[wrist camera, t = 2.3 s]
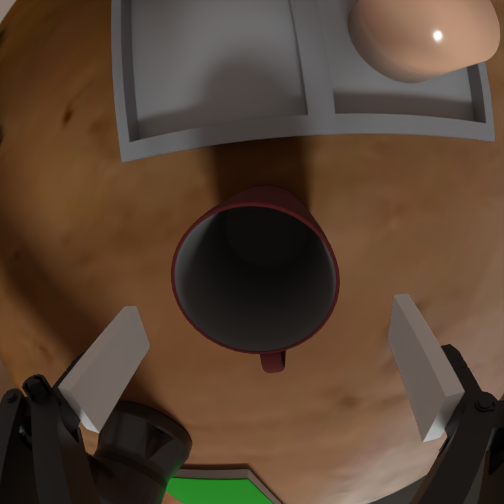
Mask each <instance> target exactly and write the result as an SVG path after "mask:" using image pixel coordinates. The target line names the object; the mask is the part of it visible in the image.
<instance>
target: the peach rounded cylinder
mask: <svg viewBox="0 0 504 504" xmlns="http://www.w3.org/2000/svg"><path fill="white" fill-rule="evenodd" d="M348 31H349V35H350V39H351V41H352V43H353V45H354V47H355V49H356V51H357V52H358V53H359V55H360V56H361V57H362V58H363V60H364V61H365V62H366V63H367V64H368V65H369V66H370V67H372V68H373V69H374V70H376V71H377V72H379V73H380V74H382V75H384V76H385V77H387V78H390V79H392V80H395V81H398V82H403V83H420V82H423V81H426V80H429V79H432V78H434V77H437V76H440V75H443V74H446V73H449V72H452V71H455V70H458V69H461V68H464V67H467V66H471V65H474V64H477V63H480V62H483V61H486V60H488V59H489V58H491V57H492V56H493V55H494V54H495V52H496V50H497V48H498V46H499V42H500V27H499V22H498V18H497V15H496V13H495V10H494V8H493V6H492V4H491V2H490V0H356V2H355V4H354V6H353V7H352V9H351V11H350V14H349V18H348Z"/></svg>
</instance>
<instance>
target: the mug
mask: <svg viewBox="0 0 504 504" xmlns="http://www.w3.org/2000/svg"><path fill="white" fill-rule="evenodd" d="M171 282H172V289H173V292H174V296H175V299H176V301H177V304H178V306H179V308H180V310H181V311H182V313H183V315H184V316H185V318H186V319H187V320H188V321H189V322H190V324H191V325H192V326H193V327H194V328H195V329H196V330H197V331H198V332H200V333H201V334H202V335H203V336H205V337H206V338H207V339H209V340H211V341H213V342H214V343H216V344H218V345H220V346H222V347H225V348H228V349H231V350H234V351H237V352H243V353H249V354H260V358H261V363H262V367H263V369H264V371H265V372H267V373H275V372H281V371H283V370H284V367H285V353H286V350H287V349H290V348H293V347H295V346H298V345H299V344H301V343H303V342H305V341H306V340H308V339H309V338H311V337H312V336H313V335H314V334H316V333H317V332H318V331H319V330H320V329H321V328H322V327H323V325H324V324H325V323H326V322H327V320H328V319H329V317H330V316H331V314H332V312H333V309H334V307H335V305H336V302H337V298H338V294H339V286H340V279H339V269H338V265H337V261H336V258H335V255H334V252H333V250H332V248H331V245H330V243H329V242H328V240H327V238H326V236H325V234H324V232H323V231H322V229H321V228H320V226H319V225H318V223H317V222H316V220H315V219H314V217H313V216H312V215H311V213H310V212H309V211H308V210H307V208H306V207H305V206H304V205H303V203H302V202H301V201H300V200H299V199H298V198H297V197H296V196H295V195H294V194H292V193H291V192H289V191H288V190H286V189H284V188H281V187H278V186H273V185H258V186H254V187H251V188H248V189H246V190H244V191H242V192H240V193H238V194H236V195H234V196H232V197H230V198H228V199H226V200H225V201H223V202H221V203H220V204H218V205H217V206H215V207H213V208H212V209H211V210H209V211H208V212H207V213H205V214H204V215H203V216H202V217H200V218H199V219H198V220H197V221H196V222H195V223H194V224H193V225H192V226H191V227H190V228H189V229H188V230H187V231H186V233H185V234H184V235H183V237H182V238H181V240H180V242H179V243H178V246H177V248H176V250H175V253H174V256H173V261H172V268H171Z"/></svg>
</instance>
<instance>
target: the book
mask: <svg viewBox="0 0 504 504" xmlns="http://www.w3.org/2000/svg"><path fill="white" fill-rule="evenodd" d="M166 491H167V492H168V493H169V494H171V495H172V496H174V497H175V498H176V499H178V500H179V501H181V502H182V503H184V504H281V503H280V502H279V501H278V500H277V499H276V498H275V497H274V496H273V495H272V493H271V492H270V491H269V490H268V489H267V488H266V487H265V486H264V485H263V484H262V483H261V482H260V481H259V480H258V479H257V478H256V477H255V475H254V474H253V473H252V472H251V471H250V470H249V469H239V470H188V469H179V470H178V471H177V472H176V473H175V475H174V476H173V477H172V478H171V479H170V480H169V482H168V485H167V488H166Z"/></svg>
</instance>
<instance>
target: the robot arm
mask: <svg viewBox="0 0 504 504" xmlns="http://www.w3.org/2000/svg"><path fill="white" fill-rule="evenodd" d="M387 341H388V343H389V346H390V348H391V351H392V353H393V356H394V359H395V361H396V364H397V366H398V369H399V372H400V375H401V377H402V380H403V383H404V386H405V389H406V392H407V394H408V397H409V400H410V403H411V406H412V409H413V413H414V416H415V419H416V422H417V425H418V428H419V432H420V435H421V439H422V442H426V441H430V440H434V439H437V438H440V437H441V435H442V433H443V432H444V430H445V431H446V434H447V436H448V437H447V439H446V440H445V442H444V443H443V445H442V446H441V448H440V449H439V451H440V452H439V454H438V456H437V458H436V460H435V462H434V464H433V465H432V467H431V469H430V471H429V473H428V474H427V476H426V478H425V480H424V481H423V483H422V484H421V486H420V488H419V489H418V491H417V493H416V494H415V496H414V497H413V499H412V500H411V502H410V503H409V504H463V502H464V500H465V498H466V496H467V494H468V492H469V490H470V488H471V486H472V483H473V481H474V479H475V476H476V474H477V472H478V469H479V467H480V464H481V461H482V459H483V456H484V453H485V451H486V457H485V464H484V471H483V478H482V484H481V489H480V494H479V499H478V504H504V401H498V400H497V399H496V398H495V397H494V396H493V395H492V394H490V393H488V392H482V390H481V389H480V387H479V385H478V383H477V381H476V380H475V378H474V376H473V374H472V373H471V371H470V369H469V367H467V364H466V362H465V361H464V360H463V357H462V356H461V354H460V352H459V351H458V350H457V349H456V348H454V347H453V346H452V345H450V344H448V345H443V346H440V345H439V343H438V341H437V340H436V338H435V336H434V334H433V333H432V331H431V329H430V328H429V326H428V324H427V323H426V321H425V320H424V318H423V316H422V315H421V313H420V312H419V310H418V308H417V307H416V305H415V304H414V302H413V301H412V299H411V297H410V296H409V294H399V295H394V298H393V306H392V314H391V321H390V327H389V333H388V339H387ZM149 348H150V344H149V341H148V338H147V336H146V333H145V330H144V327H143V324H142V321H141V318H140V315H139V312H138V309H137V306H124V308H123V309H122V310H121V311H120V312H119V313H118V315H117V316H116V317H115V318H114V319H113V320H112V321H111V323H110V324H109V325H108V326H107V327H106V328H105V330H104V331H103V332H102V333H101V334H100V336H99V337H98V338H97V339H96V340H95V342H94V343H93V344H92V345H91V346H90V348H89V349H88V350H87V351H86V352H83V353H82V354H81V355H79V356H78V357H76V359H75V360H74V361H73V362H72V363H71V366H69V367H68V368H67V371H65V372H64V373H63V374H62V376H61V377H60V378H59V379H58V381H57V382H56V383H55V384H54V386H53V387H52V388H51V386H50V385H49V383H48V382H47V380H46V378H45V377H44V376H43V375H40V374H37V375H33V376H31V377H29V378H28V379H27V380H26V381H25V382H24V383H23V386H22V388H23V390H24V391H25V393H26V394H27V396H28V397H25V396H24V395H23V394H22V392H21V391H20V390H19V389H11V390H9V391H7V392H6V394H5V395H4V396H3V398H2V400H1V403H0V504H161V503H162V500H163V497H164V494H165V491H166V488H167V485H168V482H169V480H170V479H171V478H172V477H173V476H174V475H175V473H176V472H177V471H178V470H179V469H180V467H181V466H182V465H183V464H184V462H185V461H186V460H187V459H188V457H189V454H190V451H191V448H192V441H191V438H190V437H189V435H188V434H187V432H186V431H185V430H184V429H183V428H182V427H181V426H180V425H178V424H177V423H176V422H174V421H173V420H171V419H170V418H168V417H167V416H165V415H163V414H161V413H159V412H157V411H155V410H153V409H151V408H148V407H145V406H142V405H139V404H135V403H131V402H117V401H118V400H119V398H120V396H121V395H122V393H123V391H124V390H125V388H126V386H127V384H128V383H129V381H130V379H131V378H132V376H133V374H134V373H135V371H136V369H137V368H138V366H139V364H140V363H141V361H142V359H143V358H144V356H145V355H146V353H147V351H148V350H149ZM80 421H81V422H82V423H83V425H84V426H85V428H86V429H88V430H91V431H94V432H97V433H99V438H98V446H97V450H96V452H95V453H94V455H93V457H92V456H91V455H90V454H88V453H87V452H86V451H85V447H84V443H83V438H82V434H81V430H80V428H79V427H78V425H79V423H80Z"/></svg>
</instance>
